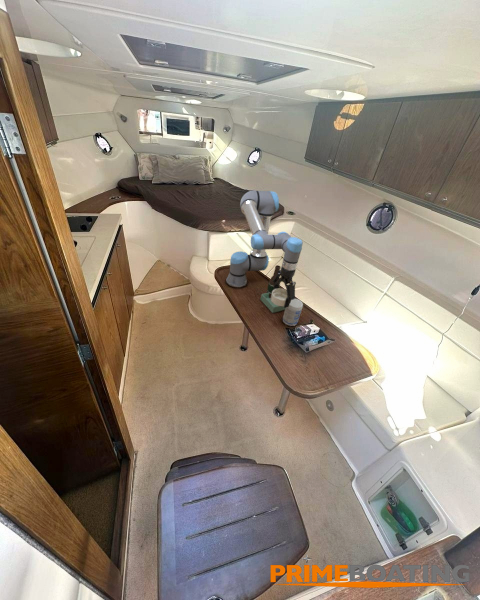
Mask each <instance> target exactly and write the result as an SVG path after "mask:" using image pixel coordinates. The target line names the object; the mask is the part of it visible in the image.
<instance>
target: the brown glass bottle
mask: <svg viewBox="0 0 480 600" xmlns="http://www.w3.org/2000/svg"><path fill="white" fill-rule="evenodd" d="M281 267H282V266H280V265H275V266H274V271H273V274H272V276H271V277H270V279H269V281H268V284H267V289H266V293H269V297H268V298H271V294H272V291H273V290H274V289H273V288H274V283H273V282H272V281H273V279H274V277H275V276H276V274H277V271H278V270H281ZM278 285H279V287H280V285H281V283H279V284H278Z"/></svg>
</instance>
